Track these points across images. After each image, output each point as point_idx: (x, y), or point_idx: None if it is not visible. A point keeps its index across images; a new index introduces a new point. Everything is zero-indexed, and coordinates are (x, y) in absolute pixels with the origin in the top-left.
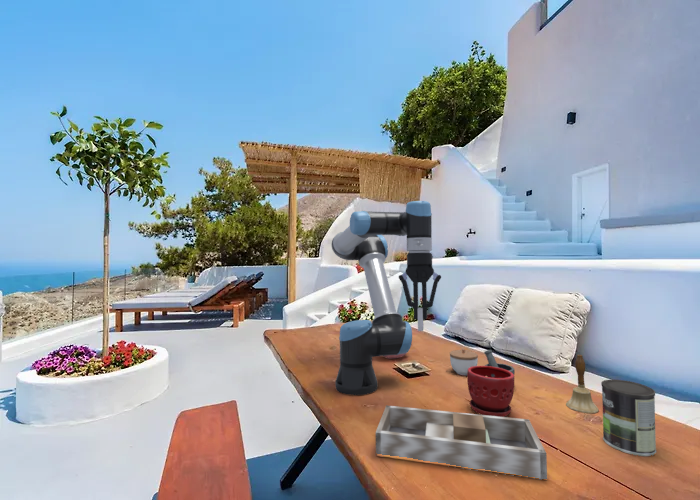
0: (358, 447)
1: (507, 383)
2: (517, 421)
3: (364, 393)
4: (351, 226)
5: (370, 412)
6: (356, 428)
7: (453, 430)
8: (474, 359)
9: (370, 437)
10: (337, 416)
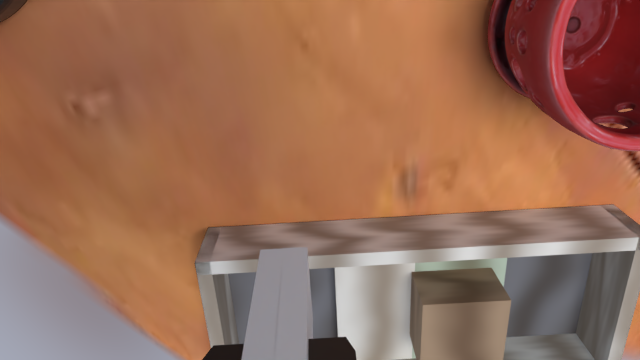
0: (178, 340)
1: None
2: (612, 250)
3: (18, 6)
4: None
5: (123, 159)
6: (130, 265)
7: (413, 300)
8: None
9: (188, 295)
10: (34, 216)
